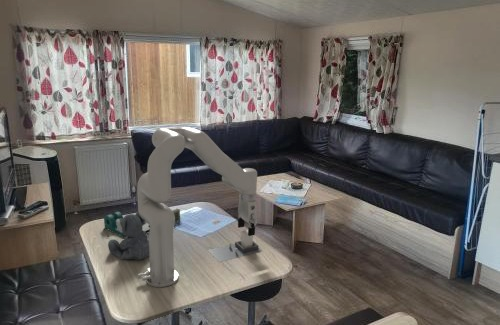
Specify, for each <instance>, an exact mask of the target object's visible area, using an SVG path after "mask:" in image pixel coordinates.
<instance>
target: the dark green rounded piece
mask: <svg viewBox="0 0 500 325" xmlns="http://www.w3.org/2000/svg"><path fill="white" fill-rule="evenodd" d="M120 218H122V219H123V218H124V215H123V214H122V213H121V212H120V211H115V212H114V213H112V214H107V215H105V216H104V217H103V224H104V229H106V228H107V229H106V230H108V229H109V230H108V231H110V230H111V231H110V232H112V231H113V232H112V233H114V232H115V233H114V234H116V233H117V235H118V236H120V237H123V238H126V237H125V236H124V235H123V233H121V232H119V231H118V229H117V225H116V220H117V219H120Z"/></svg>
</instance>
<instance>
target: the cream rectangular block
mask: <svg viewBox="0 0 500 325" xmlns="http://www.w3.org/2000/svg"><path fill="white" fill-rule="evenodd" d="M253 238H254V235H252V236H248V229H245V230H241V232H240V241H241V246H242V247H243V248H247V247H251V246H253V241H254V239H253Z"/></svg>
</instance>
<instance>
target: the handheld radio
mask: <svg viewBox="0 0 500 325" xmlns="http://www.w3.org/2000/svg"><path fill="white" fill-rule="evenodd" d="M172 211H173V213H174V216H175V223H177V221H178V222H179V221H181V209H180V208H175V209H172ZM148 228H149V229H147V230H144V231H145V232H146V234H149V232H150V225H149V224H148Z"/></svg>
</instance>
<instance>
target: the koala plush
mask: <svg viewBox="0 0 500 325" xmlns="http://www.w3.org/2000/svg"><path fill="white" fill-rule="evenodd" d="M146 224H148V223H147V222H146V221H145V220H143V219H142V218H141V216H140V214H139V211H137V212H136V213H135V214H132V213H129V214H126V215H124V216H123V219H122V218H120V219H117V220H116V225H117V229H118V231H119V232H121V233H123V235H124V236H125V237H124V238H123V240H121V241H120V242H119V241H118V240H117V239H110V240H108V243H107V245H108V246H107V247H108V251H109V253H110V254H111V255H113V256H115V257H118V258H119V259H120V260H125V259H126V260H127V261H128V260H132V259H134V260H137V261H141V260H143V259H146V258H147V257H149V244H148V237H149V235H148V233H146V232H145V231H146V230H143V227H144V225H146Z"/></svg>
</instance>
